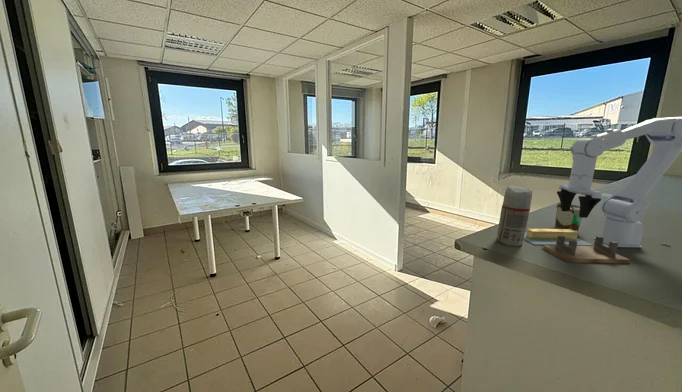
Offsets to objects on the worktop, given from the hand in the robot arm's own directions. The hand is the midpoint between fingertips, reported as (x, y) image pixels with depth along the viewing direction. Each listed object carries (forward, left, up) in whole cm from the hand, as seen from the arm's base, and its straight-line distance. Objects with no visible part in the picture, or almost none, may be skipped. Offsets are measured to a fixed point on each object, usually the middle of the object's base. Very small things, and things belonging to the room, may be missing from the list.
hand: (573, 214), depth 92 cm
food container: (-11, -13, -11) cm, 20 cm away
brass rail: (+4, -3, -8) cm, 10 cm away
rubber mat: (+4, -3, -10) cm, 12 cm away
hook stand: (+4, +11, -10) cm, 16 cm away
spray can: (+21, +1, -11) cm, 24 cm away
